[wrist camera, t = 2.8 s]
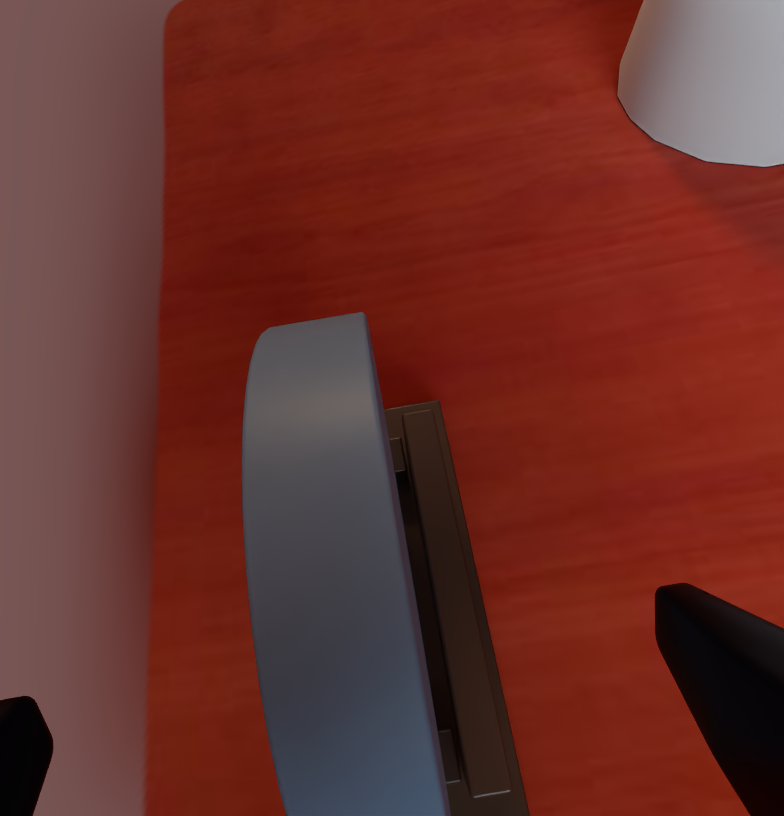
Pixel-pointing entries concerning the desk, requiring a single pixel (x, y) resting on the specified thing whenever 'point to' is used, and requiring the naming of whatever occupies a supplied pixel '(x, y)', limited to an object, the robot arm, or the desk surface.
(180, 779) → the desk surface
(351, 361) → the disc
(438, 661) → the rack
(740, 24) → the teardrop
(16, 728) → the robot arm
